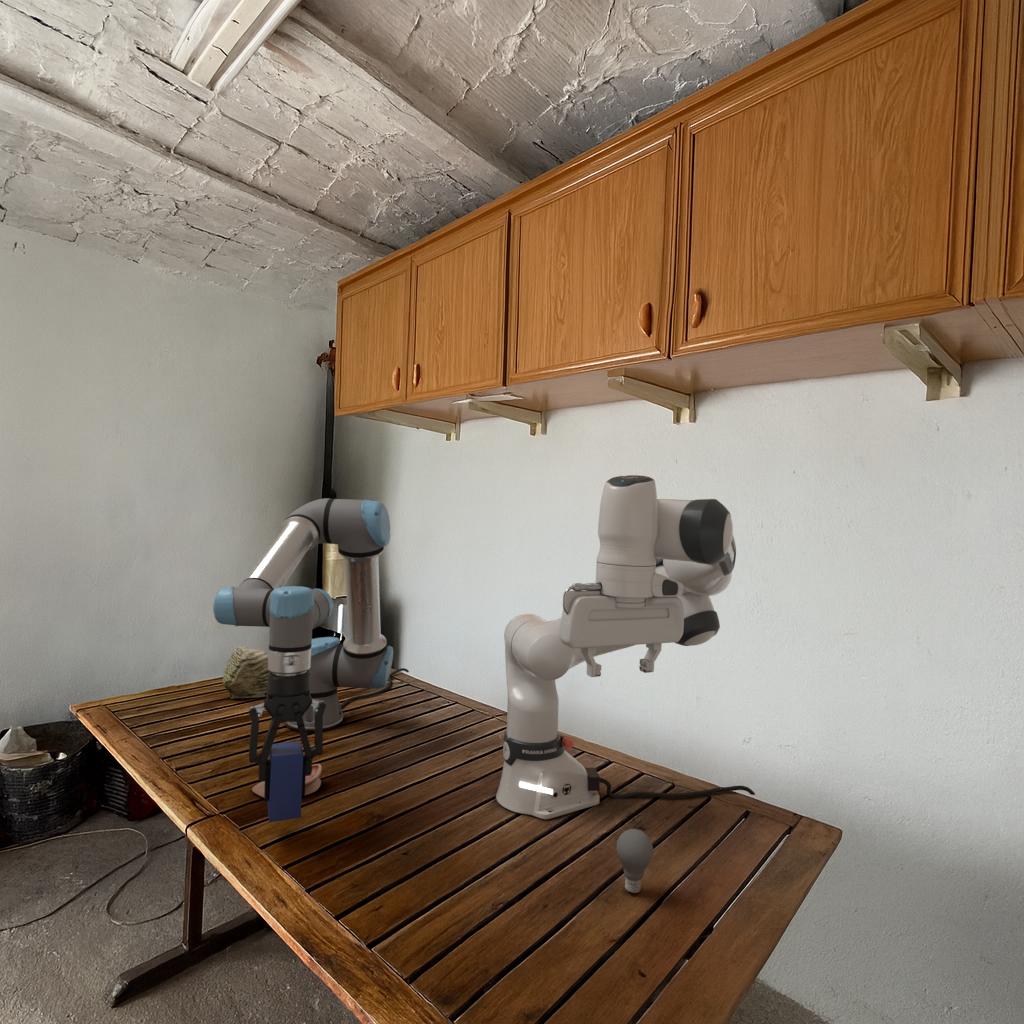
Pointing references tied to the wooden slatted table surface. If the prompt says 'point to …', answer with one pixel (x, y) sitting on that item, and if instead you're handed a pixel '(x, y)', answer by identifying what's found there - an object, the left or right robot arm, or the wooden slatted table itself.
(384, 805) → the wooden slatted table surface
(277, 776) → the block
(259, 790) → the anatomical model
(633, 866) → the light bulb
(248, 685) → the fossil
